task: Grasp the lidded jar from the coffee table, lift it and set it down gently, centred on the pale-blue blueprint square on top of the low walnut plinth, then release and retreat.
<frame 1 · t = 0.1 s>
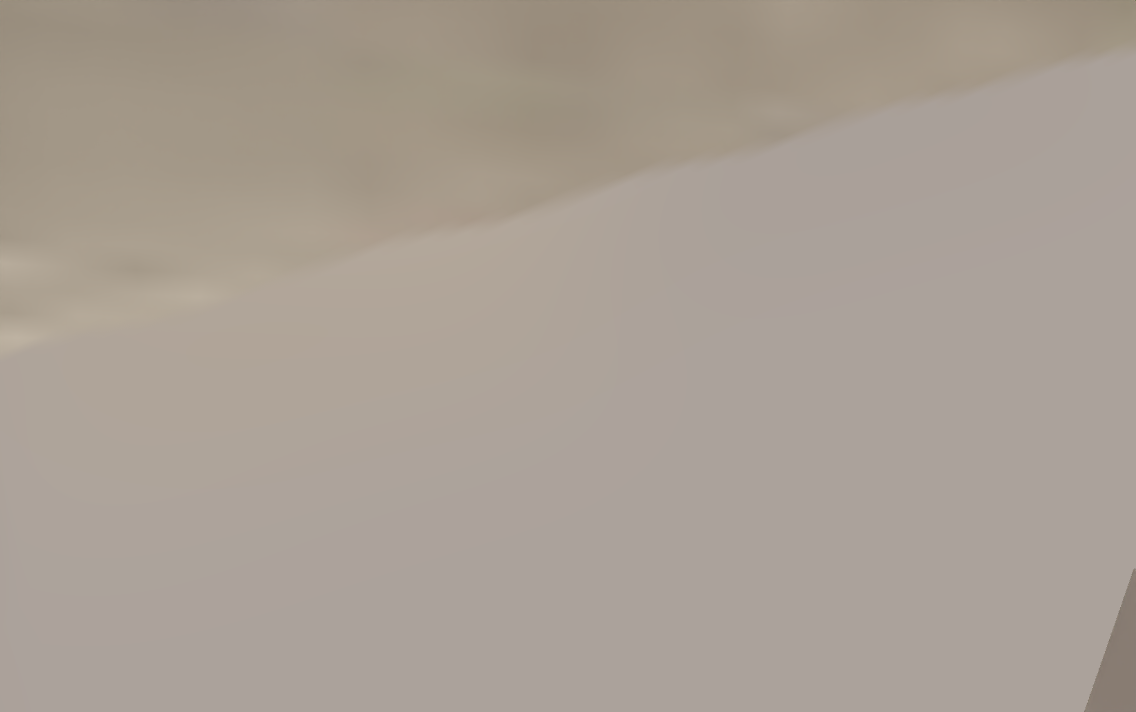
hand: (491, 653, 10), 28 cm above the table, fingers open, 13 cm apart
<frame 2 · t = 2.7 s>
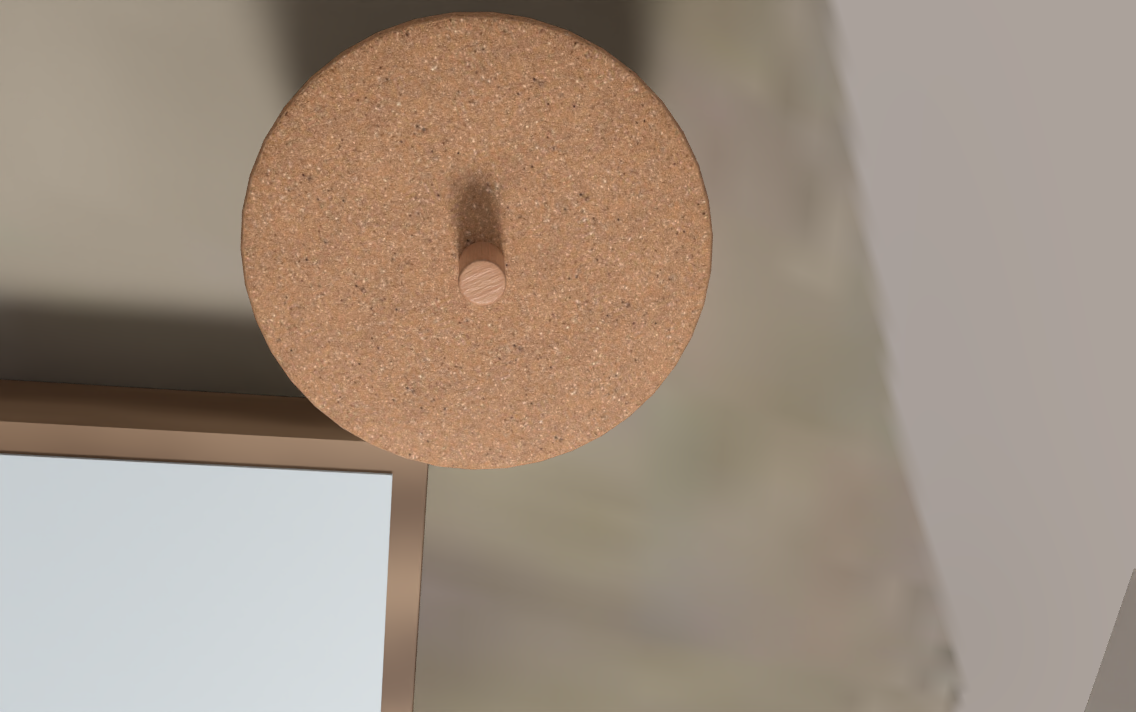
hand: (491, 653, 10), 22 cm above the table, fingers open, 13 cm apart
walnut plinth: (180, 607, 34), on the table
lidded jar: (479, 190, 30), on the table
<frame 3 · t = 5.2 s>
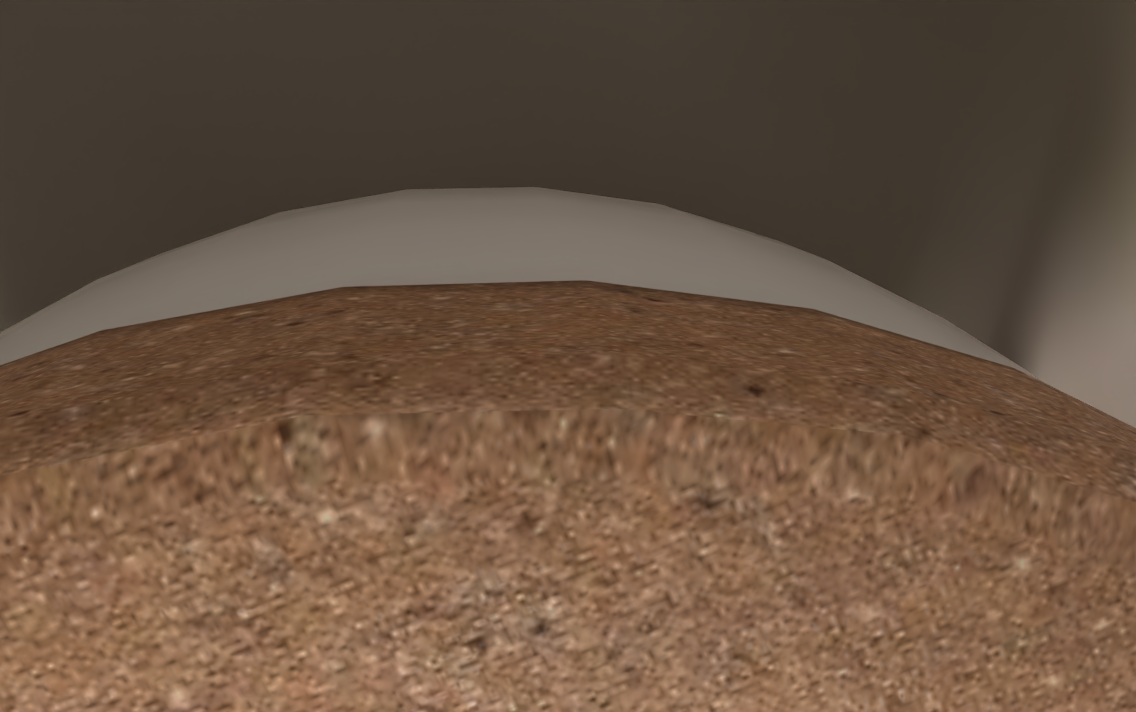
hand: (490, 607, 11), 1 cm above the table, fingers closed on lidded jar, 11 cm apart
lidded jar: (488, 546, 12), on the table, touching gripper
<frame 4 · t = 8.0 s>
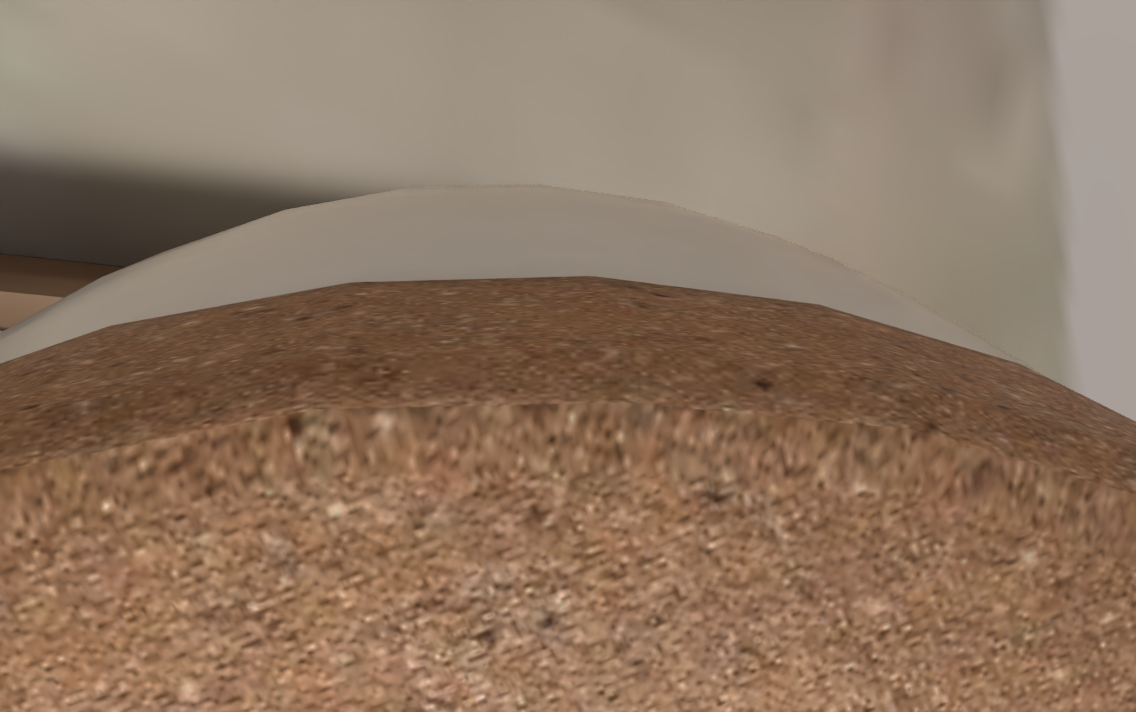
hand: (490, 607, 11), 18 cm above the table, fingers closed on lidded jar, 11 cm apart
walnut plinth: (246, 539, 30), on the table
lidded jar: (491, 545, 12), point 16 cm above the table, touching gripper
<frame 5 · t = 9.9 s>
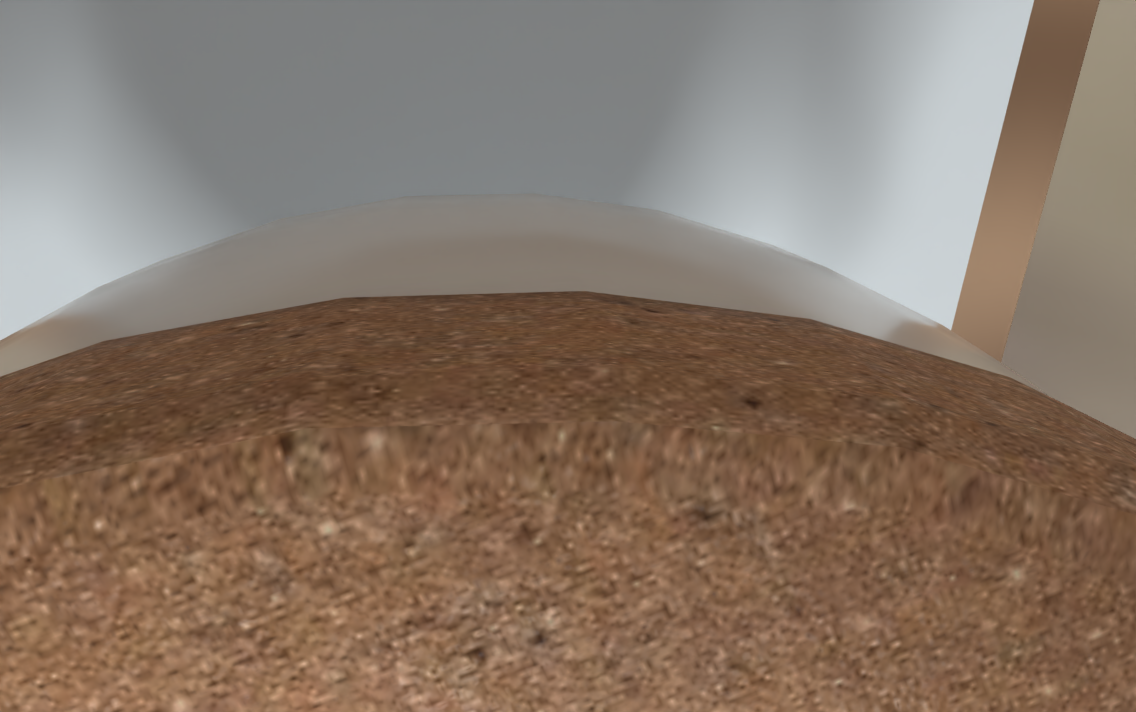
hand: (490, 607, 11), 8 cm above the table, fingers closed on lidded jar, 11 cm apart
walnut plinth: (484, 347, 18), on the table
lidded jar: (489, 549, 12), point 7 cm above the table, touching gripper
when the fingers open (5 cm above the table, at t = 11.3 s): lidded jar drops 1 cm, resting on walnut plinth.
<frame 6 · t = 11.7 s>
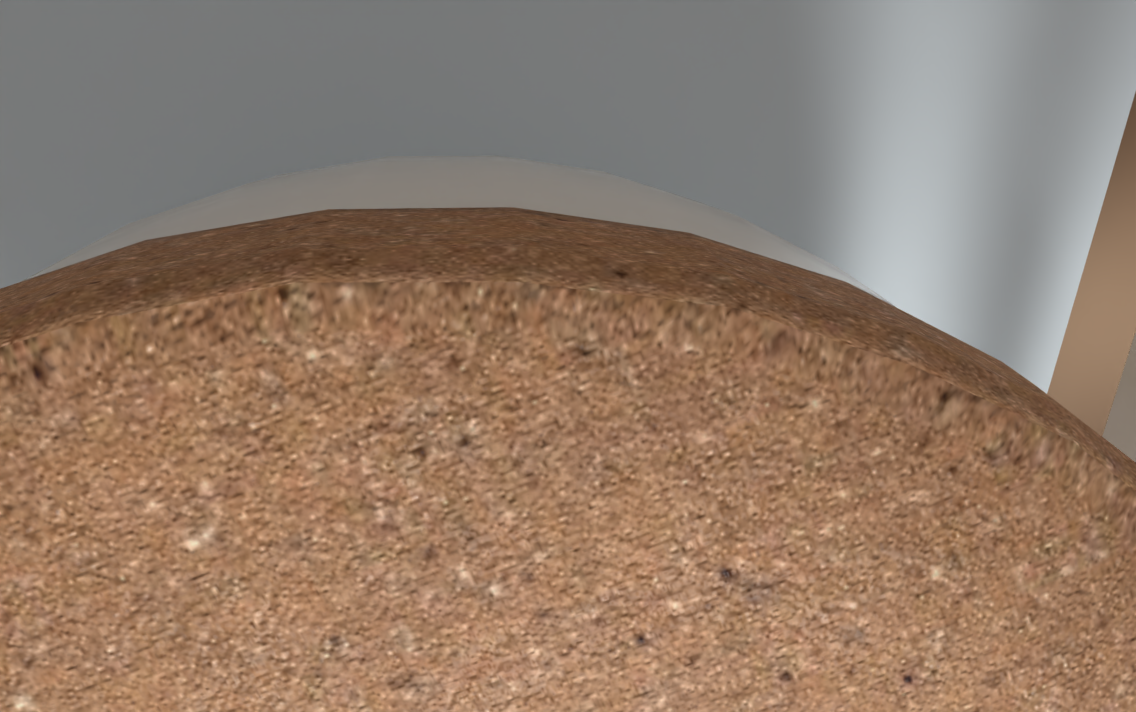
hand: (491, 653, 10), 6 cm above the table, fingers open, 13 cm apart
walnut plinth: (485, 409, 16), on the table
lidded jar: (468, 497, 13), point 3 cm above the table, touching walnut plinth
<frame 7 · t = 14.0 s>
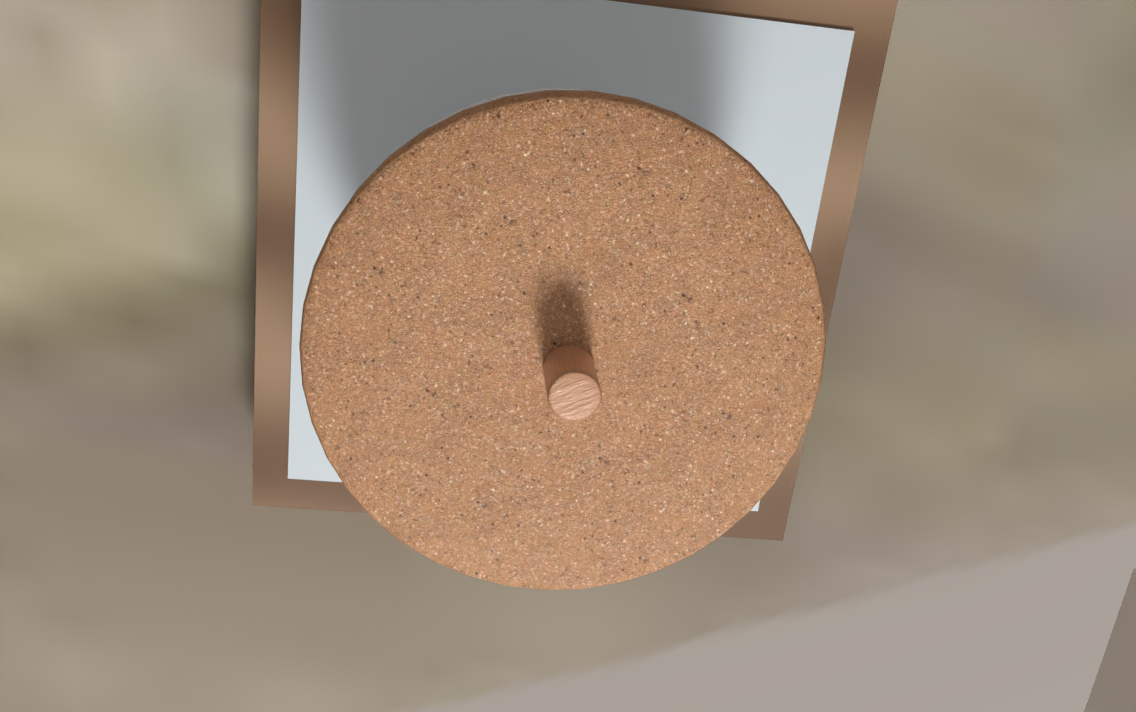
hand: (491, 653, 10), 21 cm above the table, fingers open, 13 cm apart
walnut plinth: (549, 241, 31), on the table
lidded jar: (546, 265, 28), point 3 cm above the table, touching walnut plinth
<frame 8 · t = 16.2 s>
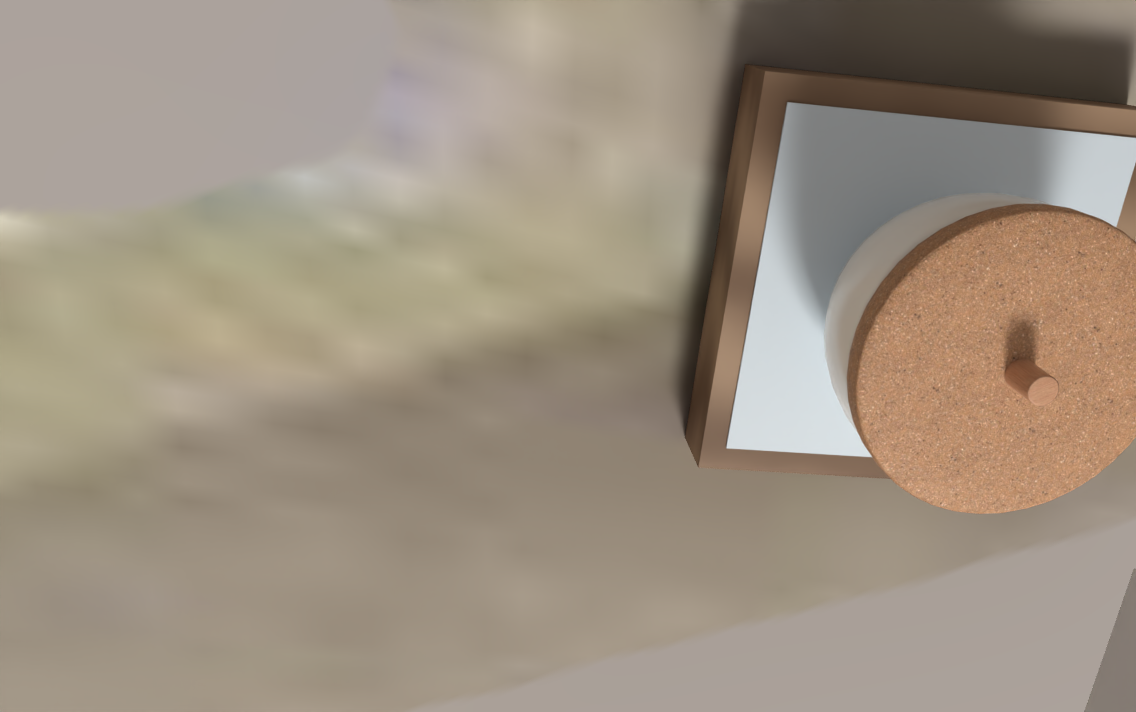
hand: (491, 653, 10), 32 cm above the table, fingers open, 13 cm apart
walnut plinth: (897, 278, 43), on the table
lidded jar: (918, 298, 40), point 3 cm above the table, touching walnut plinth
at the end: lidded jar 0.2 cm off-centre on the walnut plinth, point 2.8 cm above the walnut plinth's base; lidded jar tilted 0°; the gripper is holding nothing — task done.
